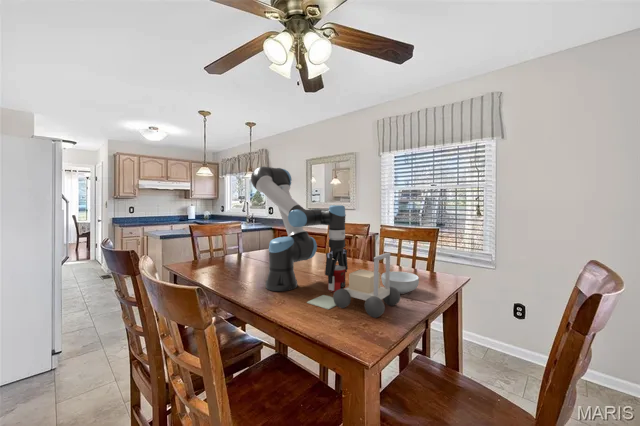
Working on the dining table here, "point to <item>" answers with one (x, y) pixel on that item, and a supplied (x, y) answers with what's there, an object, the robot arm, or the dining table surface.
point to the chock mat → (323, 302)
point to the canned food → (338, 278)
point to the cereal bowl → (402, 281)
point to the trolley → (369, 289)
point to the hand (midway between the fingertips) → (336, 287)
